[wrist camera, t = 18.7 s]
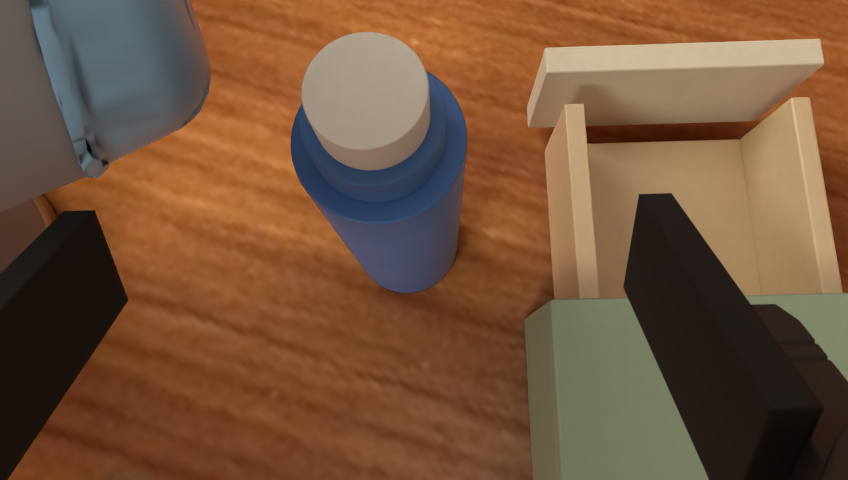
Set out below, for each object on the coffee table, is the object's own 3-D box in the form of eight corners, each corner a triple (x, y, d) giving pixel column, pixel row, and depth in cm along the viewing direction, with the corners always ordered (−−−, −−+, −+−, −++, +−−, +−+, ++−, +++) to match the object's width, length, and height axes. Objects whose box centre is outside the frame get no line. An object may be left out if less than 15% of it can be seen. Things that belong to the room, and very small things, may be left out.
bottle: (338, 233, 31) (218, 69, 14) (418, 178, 32) (390, -43, 15) (395, 313, 30) (336, 235, 14) (477, 254, 31) (515, 108, 14)
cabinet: (523, 318, 30) (550, 299, 22) (786, 312, 29) (900, 291, 22) (540, 629, 27) (577, 725, 19) (832, 627, 26) (983, 724, 19)
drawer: (525, 85, 32) (542, 21, 26) (749, 77, 31) (816, 11, 26) (541, 354, 29) (565, 349, 23) (789, 350, 28) (875, 343, 23)
